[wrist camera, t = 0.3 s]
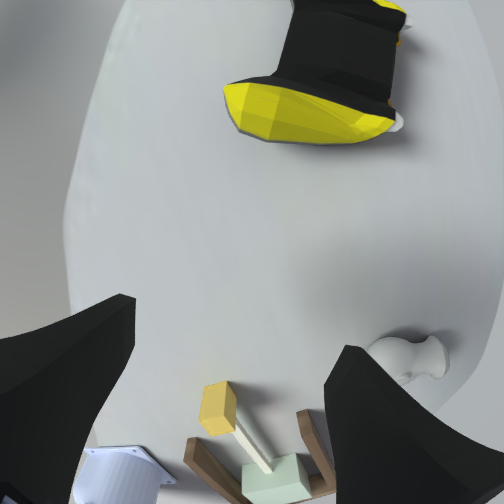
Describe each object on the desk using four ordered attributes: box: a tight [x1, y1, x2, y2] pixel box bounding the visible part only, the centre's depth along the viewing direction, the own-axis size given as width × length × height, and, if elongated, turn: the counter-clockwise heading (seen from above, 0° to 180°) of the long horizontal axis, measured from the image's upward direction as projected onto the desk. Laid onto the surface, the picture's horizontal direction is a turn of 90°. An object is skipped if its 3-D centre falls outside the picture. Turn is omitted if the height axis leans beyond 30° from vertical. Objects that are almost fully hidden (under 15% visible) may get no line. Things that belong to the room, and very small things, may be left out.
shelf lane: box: [183, 409, 336, 504], centre depth 23 cm, size 12×14×3 cm
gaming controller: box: [223, 0, 413, 145], centre depth 13 cm, size 15×6×10 cm
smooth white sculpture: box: [367, 335, 450, 386], centre depth 20 cm, size 4×8×5 cm
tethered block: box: [198, 381, 312, 504], centre depth 22 cm, size 6×18×4 cm, turn 22°
